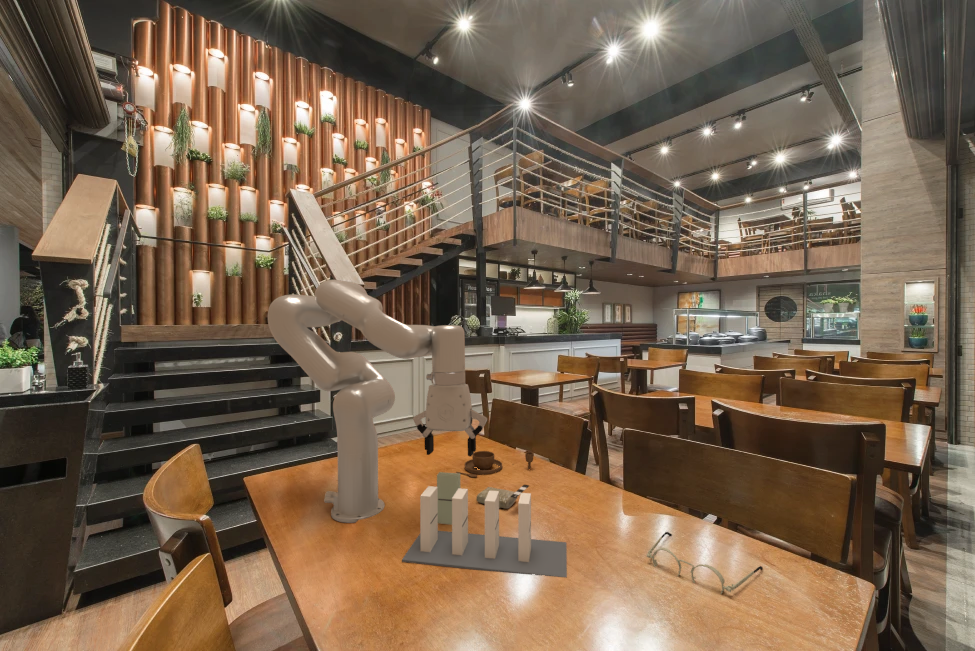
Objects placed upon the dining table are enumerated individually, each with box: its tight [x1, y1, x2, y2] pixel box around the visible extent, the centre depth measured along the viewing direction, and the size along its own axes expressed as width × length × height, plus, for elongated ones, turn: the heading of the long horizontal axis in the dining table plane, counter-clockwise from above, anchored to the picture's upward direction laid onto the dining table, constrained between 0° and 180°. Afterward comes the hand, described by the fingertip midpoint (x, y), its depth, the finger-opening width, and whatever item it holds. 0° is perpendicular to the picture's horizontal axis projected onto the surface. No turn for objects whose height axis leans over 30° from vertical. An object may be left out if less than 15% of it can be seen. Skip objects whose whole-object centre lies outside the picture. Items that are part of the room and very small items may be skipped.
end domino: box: [436, 471, 461, 526], centre depth 96 cm, size 2×5×11 cm, turn 79°
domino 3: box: [484, 491, 500, 559], centre depth 83 cm, size 2×5×11 cm, turn 170°
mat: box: [401, 530, 568, 578], centre depth 83 cm, size 31×12×1 cm, turn 79°
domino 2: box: [451, 487, 469, 555], centre depth 84 cm, size 2×5×11 cm, turn 169°
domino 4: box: [517, 492, 532, 562], centre depth 81 cm, size 2×5×11 cm, turn 169°
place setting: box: [455, 450, 534, 478], centre depth 129 cm, size 18×20×6 cm
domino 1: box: [419, 485, 439, 552], centre depth 85 cm, size 2×5×11 cm, turn 169°
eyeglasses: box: [646, 531, 763, 595], centre depth 78 cm, size 17×15×5 cm
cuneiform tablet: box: [476, 484, 530, 510], centre depth 105 cm, size 7×4×12 cm
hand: (450, 453), depth 95 cm, fingers open, 9 cm apart
